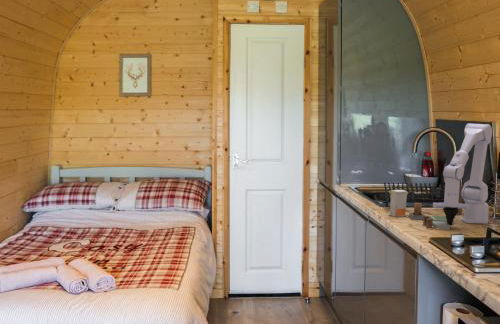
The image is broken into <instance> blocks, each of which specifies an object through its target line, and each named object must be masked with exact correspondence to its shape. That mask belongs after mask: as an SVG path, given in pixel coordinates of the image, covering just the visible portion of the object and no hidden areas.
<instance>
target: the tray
mask: <svg viewBox="0 0 500 324" xmlns="http://www.w3.org/2000/svg"><path fill="white" fill-rule="evenodd" d="M428 216H429V217H430V218H432V219H433V221H438V222H446V223H447V219H446V215H432V214H431V215H430V214H429V215H428ZM454 223H455V220H453V223H452V226H454Z"/></svg>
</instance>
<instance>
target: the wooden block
mask: <svg viewBox="0 0 500 324" xmlns="http://www.w3.org/2000/svg"><path fill="white" fill-rule="evenodd" d="M463 187H464V185H460V187H459V201H458V203H461V204H464V203H463V202H464V199H463V198H462V195H461V192H462V189H463ZM458 210H459V211H458V213H457V214H456V216H457V215H459V216H460V215H462V214H463V213H462V212H463V209H458Z"/></svg>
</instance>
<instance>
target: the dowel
mask: <svg viewBox="0 0 500 324" xmlns="http://www.w3.org/2000/svg"><path fill="white" fill-rule="evenodd" d="M413 205H414V206H413V207H414V208H413V213H414V215H421V213H422V206H423V204H422V202H414V204H413Z"/></svg>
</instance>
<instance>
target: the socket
mask: <svg viewBox="0 0 500 324" xmlns="http://www.w3.org/2000/svg"><path fill="white" fill-rule="evenodd" d="M408 214H409V215H408V217H409V218H410V219H411V221H412V220H413V221H415V220H417V221H423V217H424V216H427V215H426V214H425V213H424V212H421V215H414V212H408Z"/></svg>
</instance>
